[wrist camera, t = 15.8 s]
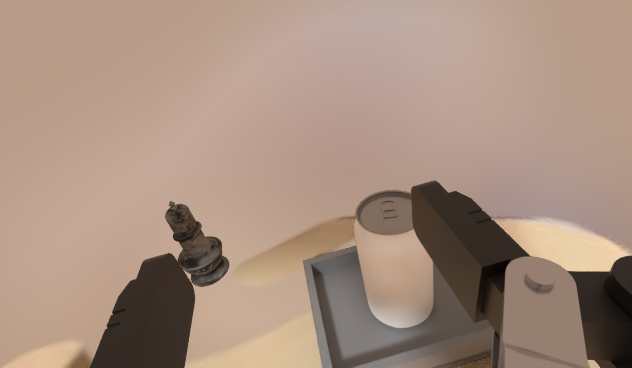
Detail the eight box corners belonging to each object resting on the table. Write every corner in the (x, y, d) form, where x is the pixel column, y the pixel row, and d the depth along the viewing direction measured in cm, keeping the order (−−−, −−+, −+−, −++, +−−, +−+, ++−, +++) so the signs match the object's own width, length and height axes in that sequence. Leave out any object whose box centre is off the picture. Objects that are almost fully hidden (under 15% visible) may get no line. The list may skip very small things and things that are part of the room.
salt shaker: (226, 248, 47) (192, 181, 40) (235, 274, 42) (197, 203, 36) (187, 266, 45) (145, 199, 39) (191, 296, 41) (144, 225, 34)
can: (371, 333, 30) (352, 243, 24) (365, 278, 36) (348, 192, 29) (441, 327, 30) (441, 232, 23) (425, 272, 35) (421, 182, 28)
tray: (332, 402, 27) (325, 386, 26) (308, 277, 39) (302, 260, 37) (533, 343, 28) (538, 323, 26) (449, 237, 40) (449, 219, 38)
